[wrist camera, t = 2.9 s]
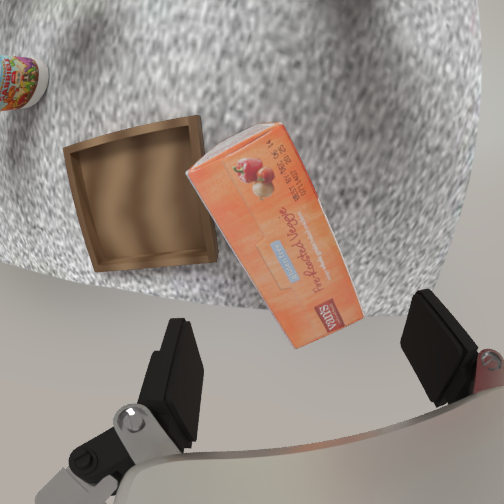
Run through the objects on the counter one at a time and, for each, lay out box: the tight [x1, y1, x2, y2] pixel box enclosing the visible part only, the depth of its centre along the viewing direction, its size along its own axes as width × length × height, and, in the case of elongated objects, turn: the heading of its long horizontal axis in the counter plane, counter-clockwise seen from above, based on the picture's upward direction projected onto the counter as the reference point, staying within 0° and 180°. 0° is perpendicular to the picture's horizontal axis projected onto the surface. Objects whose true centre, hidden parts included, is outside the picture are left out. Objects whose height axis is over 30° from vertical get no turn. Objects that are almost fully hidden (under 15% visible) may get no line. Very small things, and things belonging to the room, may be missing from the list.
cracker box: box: [185, 122, 365, 349], centre depth 25 cm, size 14×6×21 cm, turn 27°
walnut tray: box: [63, 115, 219, 272], centre depth 33 cm, size 18×18×3 cm
